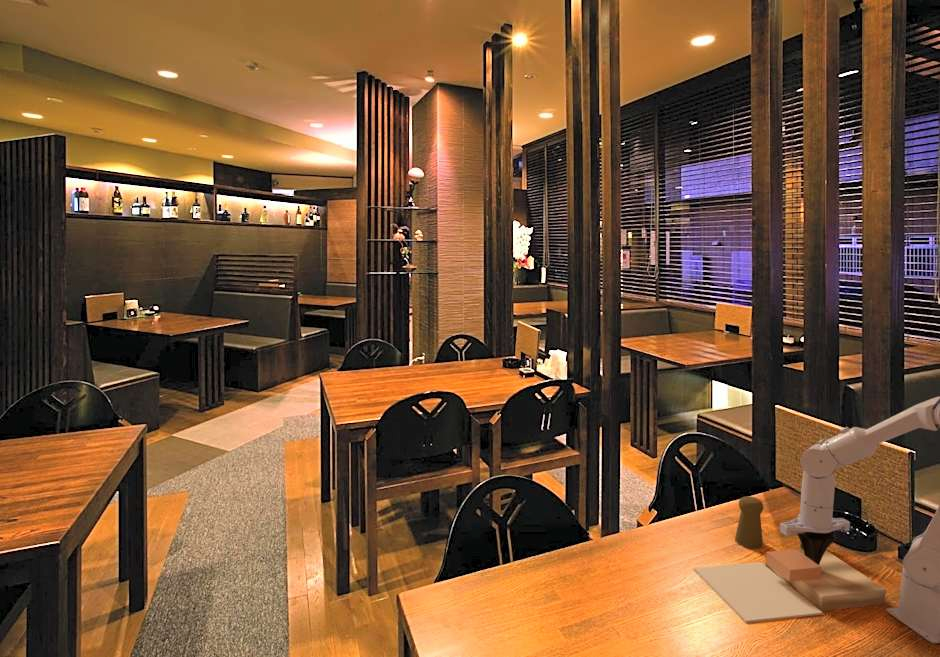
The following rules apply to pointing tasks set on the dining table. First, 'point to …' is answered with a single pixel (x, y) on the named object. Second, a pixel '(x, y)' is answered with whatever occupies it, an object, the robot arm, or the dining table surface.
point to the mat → (756, 592)
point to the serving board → (837, 586)
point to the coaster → (793, 565)
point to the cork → (750, 523)
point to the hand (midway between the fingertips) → (812, 564)
